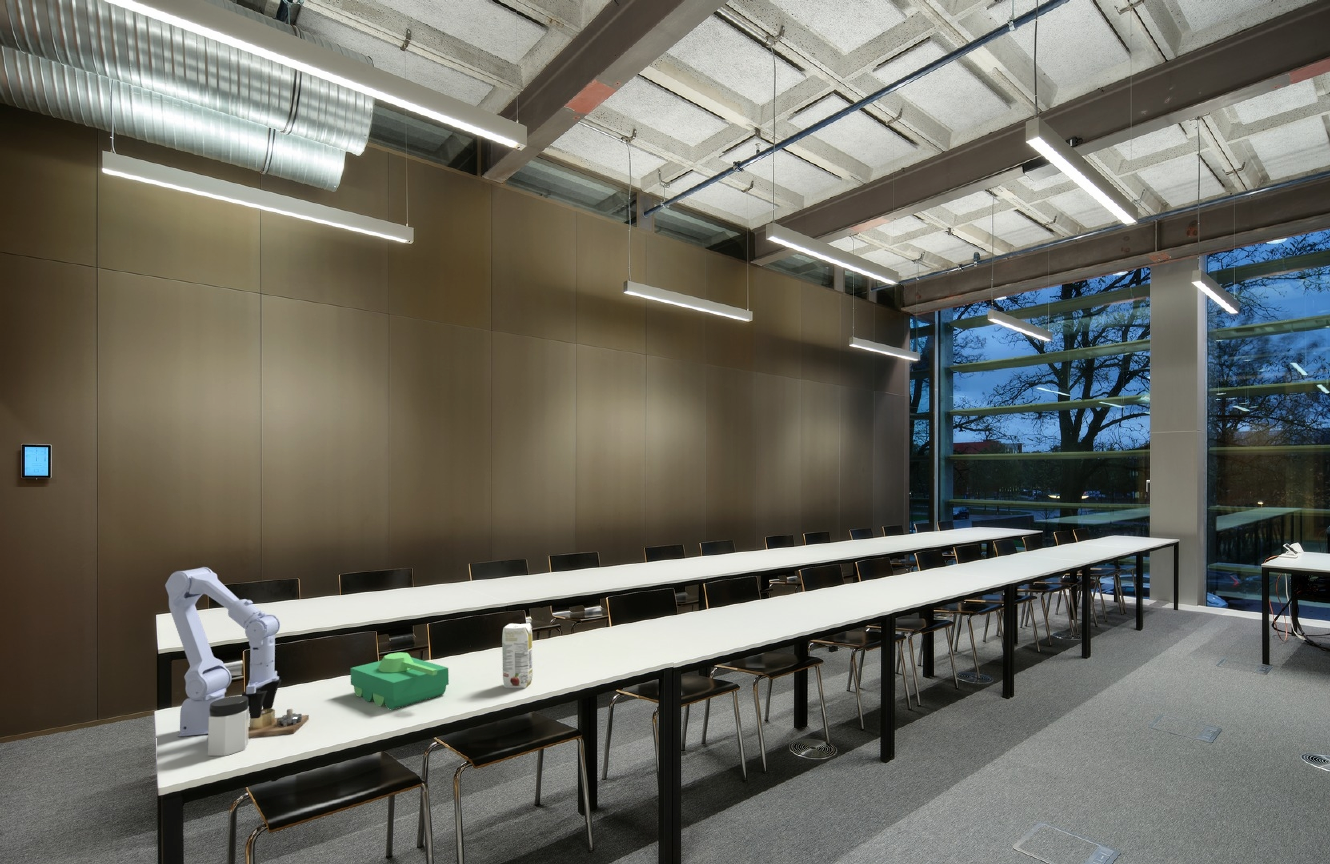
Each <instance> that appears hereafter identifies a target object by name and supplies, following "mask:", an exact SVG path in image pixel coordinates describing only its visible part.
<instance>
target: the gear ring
mask: <svg viewBox="0 0 1330 864" xmlns="http://www.w3.org/2000/svg"><path fill="white" fill-rule="evenodd" d="M262 711H265V713H263V714H261V716H260V718H255V719H251V717H250V716H249V728H251V729H262V728H266V727H269V726H272V725H273V724H274V723H275V718H276V716H275V715H276V709H274V708H273V707H272V708H269V709H263V708H262Z"/></svg>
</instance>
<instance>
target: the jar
mask: <svg viewBox="0 0 1330 864" xmlns="http://www.w3.org/2000/svg"><path fill="white" fill-rule="evenodd" d="M209 711H210V716H209V728H208V734H207V735H208V737H207V739H208V741H207V749H208V750H207V756H208V757H210V756H211V757H226V756H229V755H232V754H235V753H239V752H243V751H245V750H246V748H247V746H248V745H249V738H248V732H249V723H250V714H249V706H248V697H247V696H242V695H233V696H227V697H226V696H225V697H224V698H222V699H219V700H216V701H214V702H212V703H211V704H210V709H209Z"/></svg>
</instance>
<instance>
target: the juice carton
mask: <svg viewBox="0 0 1330 864" xmlns="http://www.w3.org/2000/svg"><path fill="white" fill-rule="evenodd" d="M501 643H502V647H501V648H502V651H501V652H502V655H501V656H502V682H503V687H504V689H526V688H527V687H528V686H529V685H531V683H532V681H533V674H534V671H533V670H534V667H533V665H534V663H533V662H534V661H533V659H534V658H533V630H532V624H531V623H530V622H529V623H528V622H527V623H521V624H520V623H508V624H507V625H505V626H504V627H503V629H502V638H501Z"/></svg>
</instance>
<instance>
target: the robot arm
mask: <svg viewBox="0 0 1330 864" xmlns="http://www.w3.org/2000/svg"><path fill="white" fill-rule="evenodd" d="M164 587H165V589H166V592H167V595H168V608H169V611H170V614H171V617H172V619H173V622H174V625H175V628H176V631H177V633H178V636H179V640H180V642H181V644H182V647H183V650H184V653H185V657H186V658H187V662H188V663H189V668H188V669H187V671H186V673H185V675H184V676H183V677H184V681H185V693H186V695H187V698H186V699H185V700H184V701H183V702H182V704H181V707H180V713H179V714H180V715H179V733H178V736H177V737H187V736H189V737H190V736H198V735H199V736H200V735H208V728H209V716H210V711H209V709H210V704H211V703H212V702H214V701H216V700H219V699H222V698H225V693H227V689H228V687H229V686H230V685H231V683H232V674H231V671H230V670H229V669H228V668H227V667H226V665H225V663H224V662H223V661H222V659H219V658H216V657H215V656H214V653H213V652H212V648H211V645H210V643H209V641H208V638H207V635H206V632H205V629H204V627H203V624H202V621H201V618H200V616H199V613H198V610H197V607H196V604H197V602H198V600H199V599H200V598H201V596H203V595H206V596H208V597H210V598H211V599H212V600H214V601H216V603H218V604H219V605H221V606H222V607H224V608H226V610H227V611H228V612H227V616H228V617H229V618H231V619H232V620H233V621H234V622H235V623H237V624H238V625H239V626H240V627H241V628H243V630H244V634H245V636H246V638H247V639H248V645H249V647H250V649H249V650H250V651H249V652H250V654H249V655H250V657H249V658H250V659H249V660H250V661H249V680H248V684H247V685H246V686H245V691H243V692H242V693H241V696H247V697H248V706H249V718H250V717H251V719H255V718H260V716H261V712H262V709H269V708H272V709H273V706H274V703H275V698H276V696H277V695H276V694H277V691H278V690H279V687H280V685H281V684H282V679H280V676H278V671H277V670H275V663H276V662H275V657H276V655H275V653H276V651H275V650H276V647H275V646H276V640H275V639H276V634H277V633H278V632H279V631H280V628H281V624H280V621H279V618H277V616H276V615H274V614H267V613H266V612H264V611H262V610H261V609H259V608H258V607H256V605H255V604H254V602H253V601H252V600H251V599H246V598H244V599H240V598H239V597H237V596H236V595H235V594H234V593H233V592H232V591H231V590H230V589H228V588H227V587H226V586H225V585H224V584H223V583H222V582H221V581H220V580H219V578H218V574H217V573H215V572H214V571H212V569H210V568H209V567H206V566H202V567H199V568H194V569H192V568H191V569H186V570H177V571H174V572H173V573H171V575H170V576H169V577H168V579H167V581H166V583H165V585H164Z"/></svg>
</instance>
